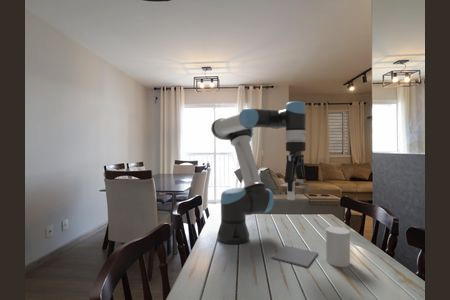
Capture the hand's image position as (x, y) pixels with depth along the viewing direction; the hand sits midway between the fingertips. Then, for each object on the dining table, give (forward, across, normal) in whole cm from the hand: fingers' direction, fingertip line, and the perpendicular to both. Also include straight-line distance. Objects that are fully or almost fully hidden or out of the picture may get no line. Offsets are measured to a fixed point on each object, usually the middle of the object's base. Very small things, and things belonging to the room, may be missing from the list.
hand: (295, 197), depth 101 cm
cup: (+24, +3, -15) cm, 28 cm away
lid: (-2, 0, 0) cm, 2 cm away
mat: (+23, 0, 0) cm, 23 cm away
